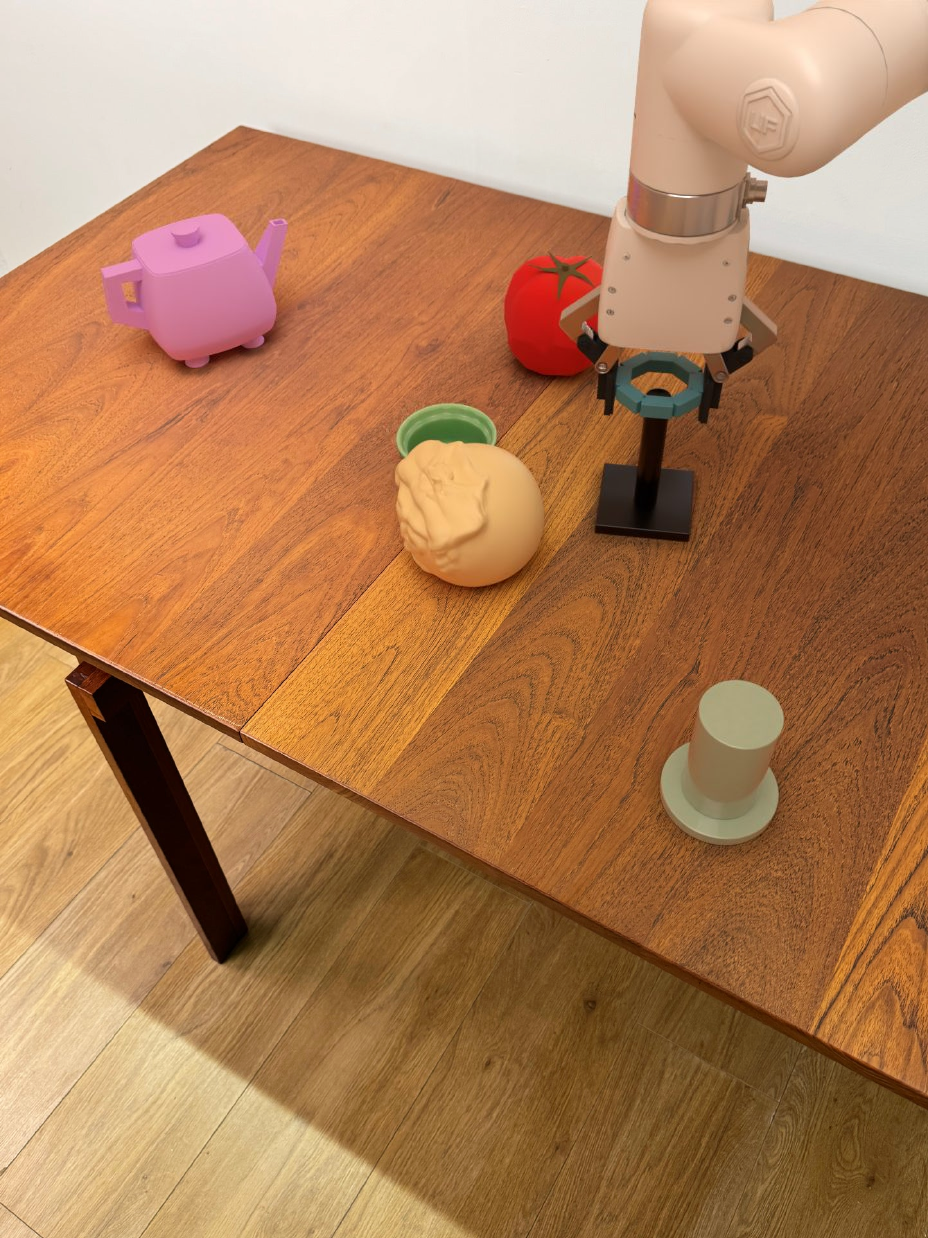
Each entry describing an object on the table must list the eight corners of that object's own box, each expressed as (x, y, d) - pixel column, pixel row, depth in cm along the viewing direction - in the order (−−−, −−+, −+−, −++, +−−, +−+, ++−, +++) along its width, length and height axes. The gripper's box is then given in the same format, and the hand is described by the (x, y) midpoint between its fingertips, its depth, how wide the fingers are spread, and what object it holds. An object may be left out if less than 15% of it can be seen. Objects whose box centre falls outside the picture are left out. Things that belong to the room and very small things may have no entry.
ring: (703, 367, 80) (705, 354, 79) (700, 422, 76) (702, 409, 75) (618, 360, 81) (619, 348, 80) (610, 414, 77) (612, 401, 76)
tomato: (479, 358, 103) (474, 259, 94) (558, 312, 107) (561, 214, 98) (560, 411, 97) (564, 311, 88) (641, 361, 101) (652, 260, 92)
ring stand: (775, 752, 72) (805, 669, 64) (776, 854, 67) (809, 777, 59) (662, 737, 73) (679, 655, 65) (655, 836, 68) (672, 759, 60)
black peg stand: (692, 478, 90) (711, 368, 81) (688, 542, 85) (708, 432, 76) (603, 470, 91) (612, 361, 82) (594, 533, 86) (603, 424, 77)
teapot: (145, 397, 101) (104, 285, 91) (111, 335, 108) (70, 226, 98) (325, 333, 107) (305, 222, 97) (281, 279, 114) (258, 170, 104)
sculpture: (385, 530, 87) (370, 435, 79) (511, 492, 90) (510, 396, 81) (429, 624, 81) (418, 530, 72) (564, 579, 83) (569, 484, 75)
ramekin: (398, 444, 95) (393, 407, 91) (492, 435, 95) (491, 398, 91) (403, 510, 89) (398, 473, 86) (503, 500, 89) (502, 463, 86)
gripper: (817, 172, 67) (767, 388, 81) (560, 161, 70) (553, 371, 83) (822, 232, 62) (767, 449, 76) (546, 216, 65) (541, 429, 79)
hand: (656, 407), depth 80 cm, fingers closed on ring, 6 cm apart
